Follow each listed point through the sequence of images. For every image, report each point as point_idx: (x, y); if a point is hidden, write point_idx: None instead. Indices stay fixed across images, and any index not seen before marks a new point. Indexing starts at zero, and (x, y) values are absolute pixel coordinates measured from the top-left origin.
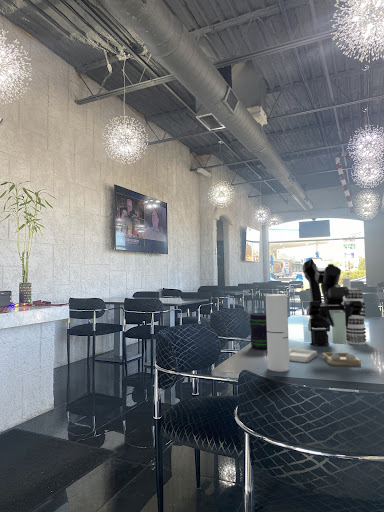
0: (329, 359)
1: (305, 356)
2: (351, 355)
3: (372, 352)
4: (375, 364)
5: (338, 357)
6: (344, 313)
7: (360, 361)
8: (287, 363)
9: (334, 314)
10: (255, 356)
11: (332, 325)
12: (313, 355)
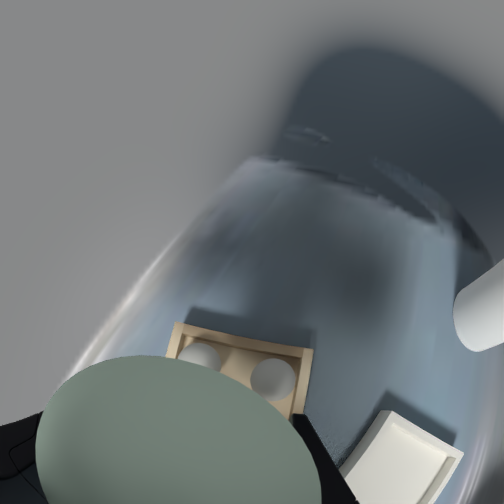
0: (310, 365)
1: (397, 419)
2: (201, 345)
3: None
4: (109, 339)
5: (267, 359)
6: (82, 375)
7: (177, 323)
8: (471, 285)
9: (294, 437)
10: (496, 475)
11: (303, 416)
12: None
